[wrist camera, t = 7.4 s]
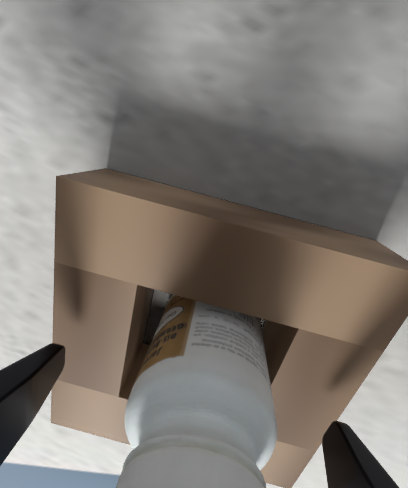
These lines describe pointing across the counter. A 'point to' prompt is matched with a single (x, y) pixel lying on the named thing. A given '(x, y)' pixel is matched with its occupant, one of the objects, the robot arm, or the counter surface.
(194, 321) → the pill bottle
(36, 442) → the counter surface
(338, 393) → the socket block
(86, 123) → the counter surface
